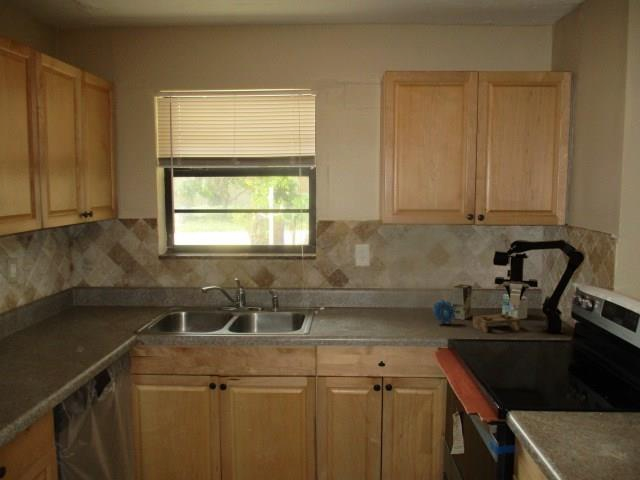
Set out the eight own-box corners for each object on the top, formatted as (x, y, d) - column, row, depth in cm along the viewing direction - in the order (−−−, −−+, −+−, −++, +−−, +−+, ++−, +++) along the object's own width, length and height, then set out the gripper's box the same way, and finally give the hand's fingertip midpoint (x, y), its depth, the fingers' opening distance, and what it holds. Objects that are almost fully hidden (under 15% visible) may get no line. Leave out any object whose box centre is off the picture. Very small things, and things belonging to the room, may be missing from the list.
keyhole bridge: (519, 329, 242) (519, 319, 242) (485, 332, 238) (485, 321, 237) (505, 323, 253) (505, 313, 252) (472, 326, 248) (472, 316, 248)
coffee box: (464, 320, 260) (465, 288, 258) (452, 318, 263) (452, 286, 262) (471, 316, 267) (472, 285, 265) (458, 314, 271) (459, 283, 269)
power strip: (519, 304, 253) (520, 289, 252) (519, 310, 240) (519, 295, 239) (511, 303, 254) (511, 289, 253) (509, 310, 241) (510, 294, 240)
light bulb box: (501, 314, 271) (502, 294, 269) (511, 313, 273) (512, 293, 272) (517, 319, 261) (518, 298, 260) (527, 318, 264) (528, 297, 263)
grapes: (434, 326, 248) (435, 301, 246) (430, 323, 254) (430, 298, 253) (458, 325, 249) (459, 301, 248) (453, 322, 256) (454, 298, 254)
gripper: (538, 265, 249) (536, 298, 250) (496, 263, 256) (495, 294, 257) (538, 269, 238) (536, 303, 240) (495, 266, 245) (493, 299, 247)
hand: (515, 300), depth 247 cm, fingers closed on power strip, 4 cm apart
